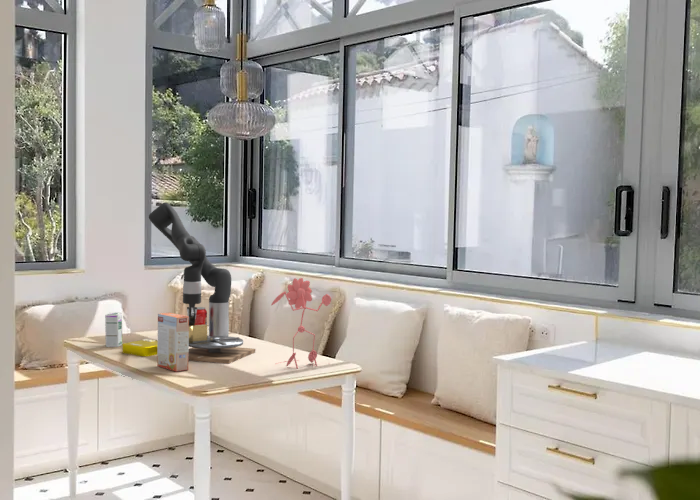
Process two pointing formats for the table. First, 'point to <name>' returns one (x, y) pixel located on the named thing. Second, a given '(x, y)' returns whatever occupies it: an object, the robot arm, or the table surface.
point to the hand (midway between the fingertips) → (191, 332)
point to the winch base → (219, 354)
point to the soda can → (201, 316)
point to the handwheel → (210, 339)
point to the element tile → (141, 347)
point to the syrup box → (113, 329)
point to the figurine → (299, 297)
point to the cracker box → (173, 341)
